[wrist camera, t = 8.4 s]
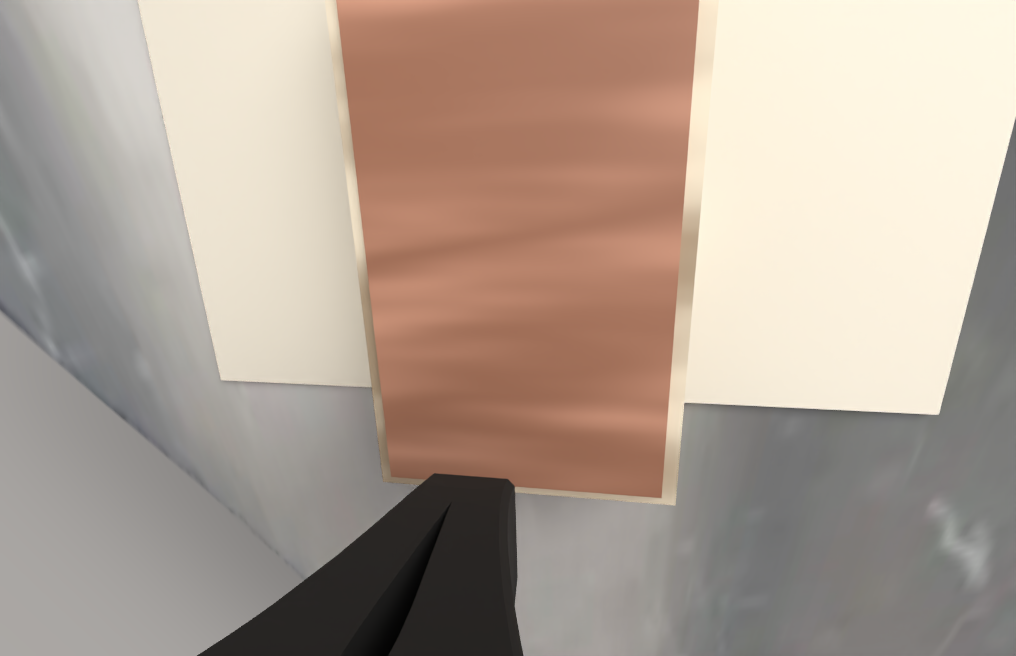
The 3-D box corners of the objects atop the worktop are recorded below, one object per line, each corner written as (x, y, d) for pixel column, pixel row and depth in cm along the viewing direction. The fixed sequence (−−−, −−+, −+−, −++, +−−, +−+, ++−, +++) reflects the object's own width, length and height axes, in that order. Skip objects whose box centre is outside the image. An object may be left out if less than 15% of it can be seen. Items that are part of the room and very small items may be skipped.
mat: (933, 410, 16) (938, 414, 16) (226, 377, 20) (220, 380, 20) (1108, -284, 11) (1121, -296, 11) (114, -140, 15) (105, -145, 15)
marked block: (676, 512, 13) (737, -182, 9) (378, 488, 15) (302, -125, 10) (659, 428, 17) (695, -77, 13) (427, 415, 19) (387, -47, 14)
